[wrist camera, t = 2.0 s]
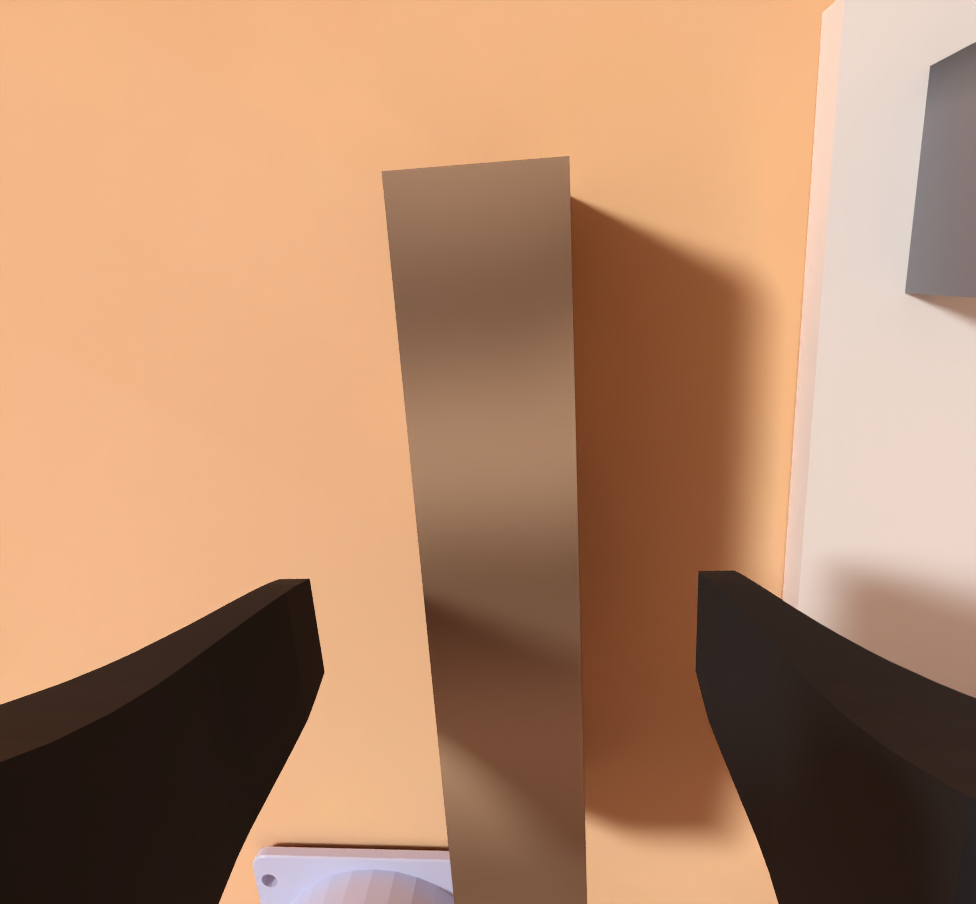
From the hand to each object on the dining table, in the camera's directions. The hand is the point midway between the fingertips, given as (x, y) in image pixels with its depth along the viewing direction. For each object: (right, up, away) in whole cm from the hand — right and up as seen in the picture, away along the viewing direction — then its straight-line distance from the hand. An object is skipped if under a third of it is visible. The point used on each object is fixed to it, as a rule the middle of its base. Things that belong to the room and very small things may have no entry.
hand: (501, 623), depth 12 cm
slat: (0, +1, +5) cm, 6 cm away
